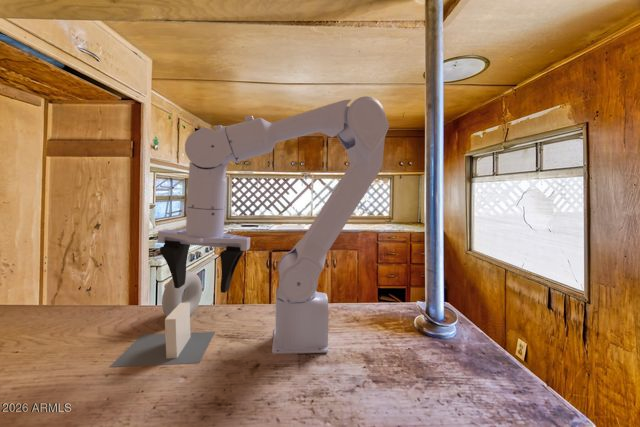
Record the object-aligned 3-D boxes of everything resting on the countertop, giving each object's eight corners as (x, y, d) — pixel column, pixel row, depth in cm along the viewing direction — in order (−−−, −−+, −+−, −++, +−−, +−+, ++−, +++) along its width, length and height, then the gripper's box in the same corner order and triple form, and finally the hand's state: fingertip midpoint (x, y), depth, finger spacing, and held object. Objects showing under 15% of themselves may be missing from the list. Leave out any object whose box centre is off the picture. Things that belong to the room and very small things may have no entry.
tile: (190, 337, 49) (189, 302, 49) (176, 357, 44) (175, 319, 43) (181, 337, 49) (180, 302, 49) (166, 358, 43) (164, 319, 43)
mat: (215, 333, 51) (215, 331, 51) (199, 365, 42) (199, 362, 42) (141, 336, 50) (141, 334, 50) (109, 369, 41) (109, 366, 41)
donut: (174, 332, 52) (172, 281, 51) (158, 329, 52) (156, 279, 51) (206, 308, 62) (205, 265, 60) (192, 307, 62) (191, 264, 61)
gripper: (146, 205, 41) (143, 293, 42) (243, 214, 40) (237, 302, 42) (172, 202, 48) (169, 278, 49) (255, 210, 47) (250, 285, 49)
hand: (202, 288), depth 46 cm, fingers open, 7 cm apart
